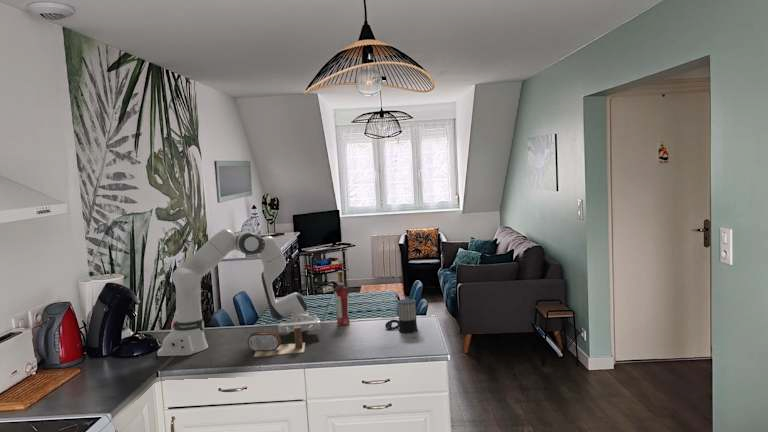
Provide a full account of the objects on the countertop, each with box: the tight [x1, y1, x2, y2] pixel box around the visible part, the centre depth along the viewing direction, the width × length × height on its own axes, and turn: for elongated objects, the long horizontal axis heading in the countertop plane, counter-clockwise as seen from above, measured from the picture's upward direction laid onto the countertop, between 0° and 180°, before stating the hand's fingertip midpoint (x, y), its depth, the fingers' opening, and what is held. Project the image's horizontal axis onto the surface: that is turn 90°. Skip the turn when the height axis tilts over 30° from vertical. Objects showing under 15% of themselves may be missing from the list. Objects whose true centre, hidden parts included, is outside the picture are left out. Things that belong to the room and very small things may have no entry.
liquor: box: [333, 270, 351, 327], centre depth 297 cm, size 7×7×28 cm
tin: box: [247, 331, 282, 352], centre depth 260 cm, size 15×3×8 cm, turn 84°
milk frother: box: [385, 298, 419, 334], centre depth 282 cm, size 14×16×15 cm
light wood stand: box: [253, 326, 306, 358], centre depth 261 cm, size 22×14×10 cm, turn 96°
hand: (298, 330), depth 271 cm, fingers open, 8 cm apart
